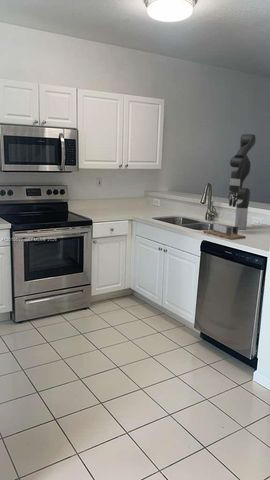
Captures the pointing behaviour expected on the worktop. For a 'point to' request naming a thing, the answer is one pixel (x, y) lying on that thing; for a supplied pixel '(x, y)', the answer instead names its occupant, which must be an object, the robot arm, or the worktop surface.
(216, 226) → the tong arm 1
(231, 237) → the tong rest
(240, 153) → the robot arm
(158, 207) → the worktop surface
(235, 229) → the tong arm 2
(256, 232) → the worktop surface
